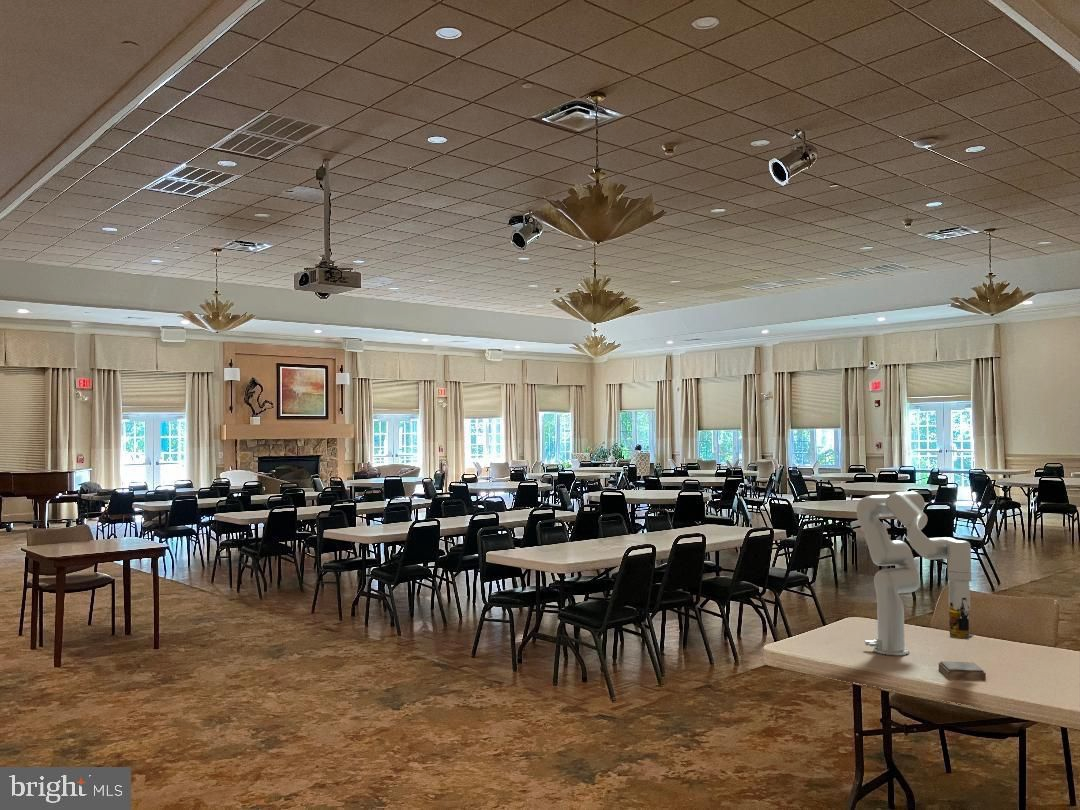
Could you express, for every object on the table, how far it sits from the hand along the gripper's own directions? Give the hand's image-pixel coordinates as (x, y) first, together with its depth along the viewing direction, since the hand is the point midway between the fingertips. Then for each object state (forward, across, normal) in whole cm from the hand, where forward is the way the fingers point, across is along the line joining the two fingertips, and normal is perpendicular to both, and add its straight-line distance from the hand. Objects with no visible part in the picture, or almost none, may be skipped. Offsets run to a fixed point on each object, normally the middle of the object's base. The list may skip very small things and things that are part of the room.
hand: (960, 627), depth 315 cm
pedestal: (+16, 0, 0) cm, 16 cm away
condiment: (+3, -1, 0) cm, 4 cm away
